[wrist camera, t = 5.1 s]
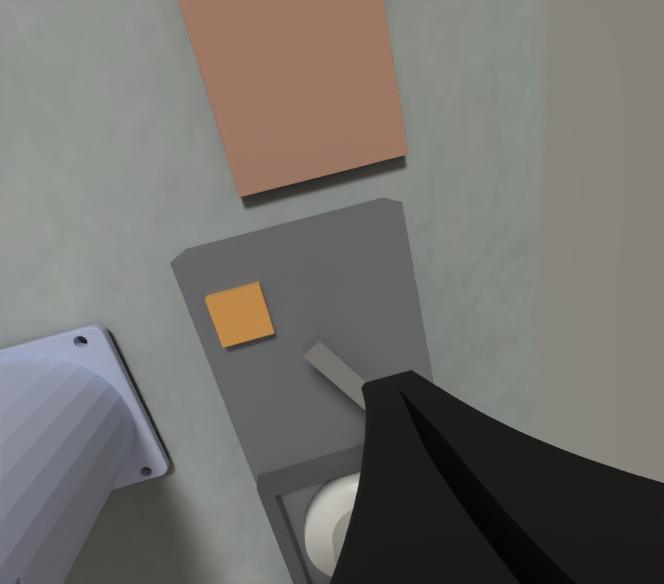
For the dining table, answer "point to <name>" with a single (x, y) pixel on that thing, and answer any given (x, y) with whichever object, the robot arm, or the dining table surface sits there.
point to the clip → (335, 367)
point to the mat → (297, 86)
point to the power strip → (292, 333)
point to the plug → (329, 520)
